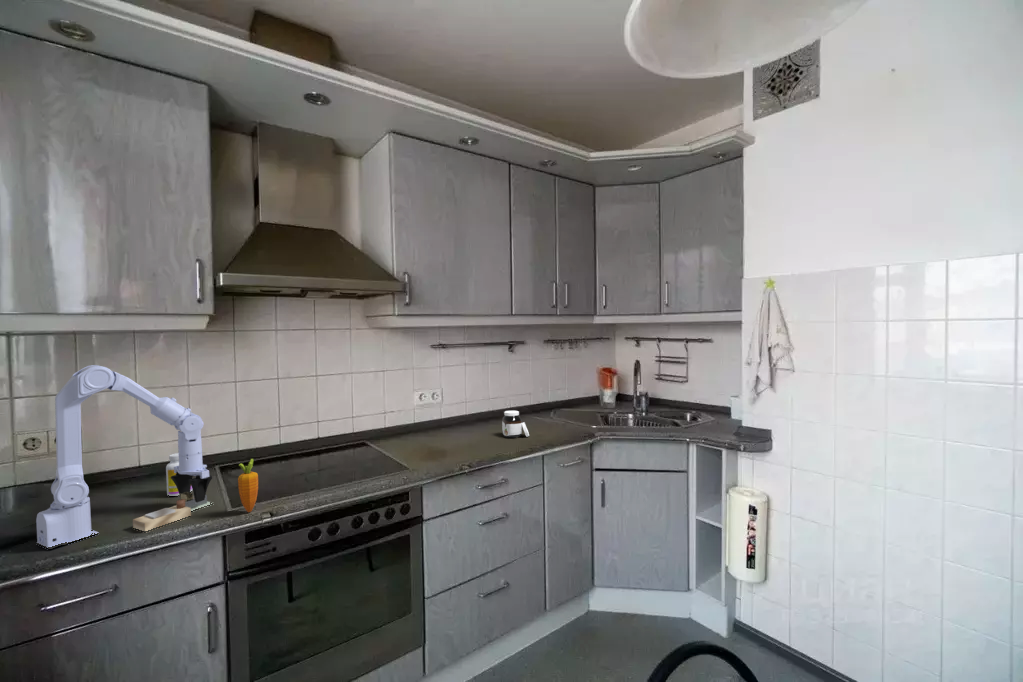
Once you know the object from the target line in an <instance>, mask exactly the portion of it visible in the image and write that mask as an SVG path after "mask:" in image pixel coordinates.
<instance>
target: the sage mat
mask: <svg viewBox="0 0 1023 682" xmlns="http://www.w3.org/2000/svg"><path fill="white" fill-rule="evenodd" d="M210 502H211V501H208V500H207V503H206V504H203V505H200V506H197V507H194V508H191V511H193V510H195V509H198V508H201V507H204V506H207V505H210ZM212 503H213V502H212ZM212 503H211V504H212ZM210 506H211V505H210ZM207 507H208V506H207ZM204 508H205V507H204ZM193 512H194V511H193Z"/></svg>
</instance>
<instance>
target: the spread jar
mask: <svg viewBox="0 0 1023 682" xmlns="http://www.w3.org/2000/svg"><path fill="white" fill-rule="evenodd" d="M503 414H504V416H503V417H502V421H501V422H502V423H501V425H502V426H501V427H502V434H503V437H504V438H506V439H517V438H516V437H518V438H520V437H521V435H522V433H523V432H524V434H525V437H526V438H527V437H530V433H529V430H528V428H527V424H526V422H525V421H524V422H522V418H521V416H520V411H518V410H505V411H503Z"/></svg>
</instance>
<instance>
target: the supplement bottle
mask: <svg viewBox="0 0 1023 682" xmlns="http://www.w3.org/2000/svg"><path fill="white" fill-rule="evenodd" d="M168 456H169V457H168V459H169V461H170V462H169V463H167V464H166V466H165V474H166V475H165V478H166V494H167V496H168V495H169V496H178V495H179V492H178V489H177V487H176V485H175V483H174V482H173V480H172V479H171V476H174V475H176V474H177V473H174V467H175V466H179V454H178V452H175V453H172V454H169V455H168ZM191 491H192V492H193V489H192V486H191V490H190V492H191ZM192 492H191V493H192ZM169 496H168V497H169ZM178 497H179V496H178Z"/></svg>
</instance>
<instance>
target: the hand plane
mask: <svg viewBox="0 0 1023 682" xmlns="http://www.w3.org/2000/svg"><path fill="white" fill-rule="evenodd" d="M175 504H176V505H173V506H171V507H164V508H161V509H158V510H155V511H152V512H149V513H146V514H144V515H143V516H140V517H139V516H138V517H136V518H133V519H132V529H133V528H136V529H139V530H142V531H148V530H151V529H153V528H156V527H159V526H162V525H165V524H168V523H171V522H174V521H177V520H180V519H182V518H185V517H188V516H191V517H192V512H191V508H189V507H185V499H181V498H179V499H177V500H176V503H175ZM180 521H181V520H180ZM177 522H178V521H177Z"/></svg>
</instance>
